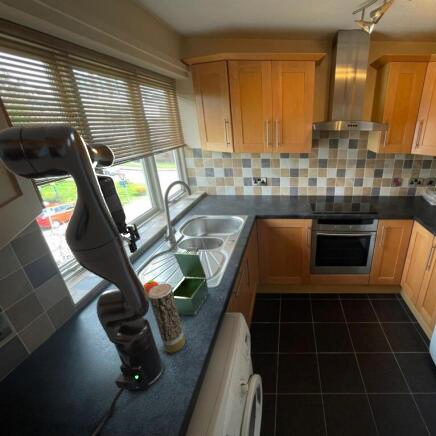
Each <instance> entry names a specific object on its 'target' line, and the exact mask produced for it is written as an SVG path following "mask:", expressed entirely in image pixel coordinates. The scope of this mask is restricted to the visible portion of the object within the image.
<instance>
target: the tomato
mask: <svg viewBox="0 0 436 436" xmlns="http://www.w3.org/2000/svg"><path fill="white" fill-rule="evenodd" d="M156 285H159V283H158V282H157V281H155V280H154V279H150V280H148V281H146V282H145V283H144V284H143V286H144V288H145V290H146V292H147V295H148V292H149V290H150V289H151V288H153V287H154V286H156Z"/></svg>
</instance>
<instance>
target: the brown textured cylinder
mask: <svg viewBox="0 0 436 436" xmlns="http://www.w3.org/2000/svg"><path fill="white" fill-rule="evenodd" d="M158 284H159V283H158ZM148 299H149V304H150V306H151V309H152V312H153V317H154V319H155V322H156V326H157V329H158V332H159V336H160V339H161V341H162V345H163V348H164V350H165V352H166V353H170V354H172V353H176V352H179V351H180V350H181V349H182V348H183V347H184V345H185V343H186V339H185V335H184V331H183V326H182V323H181V320H180V314H178V310H177V306H176V303H175V299H174V295H173V287H172V285H171V284H169V283H160V284H159V285H156V286H154V287H153V288H151V289H150V290H149V292H148Z"/></svg>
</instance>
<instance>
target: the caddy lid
mask: <svg viewBox="0 0 436 436" xmlns="http://www.w3.org/2000/svg"><path fill="white" fill-rule="evenodd" d="M199 251H200V250H199V247H189V246H188V247H185V251H184V252H174V253H173V255H174V257H175V260H176V262H177V264H178V267H179V270H180V272H181V273H182V276H183V278H184V277H193V278H206V279H207V275H206V272H205V270H204V269H205V268H204V267H203V264H202V261H201V258H200V255H199V253H198V252H199ZM190 252H193V253H190Z"/></svg>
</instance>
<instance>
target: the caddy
mask: <svg viewBox="0 0 436 436" xmlns="http://www.w3.org/2000/svg"><path fill="white" fill-rule="evenodd" d="M172 291H173V295H174V299H175V303H176V306H177V310H178V314H179V315H183V316H185V315H186V316H194V317H195V316H196V315H197V314H198V312H199V310H200V308H201V307H202V305H203V304H204V302H205V300H206V299H207V297H208V296H209V295H210V292H209V287H208V281H207V277H206V278H197V277H184V276H183V277H182V279H181V280H180V281H179V282H178V283H177V285H176V286H175V287H174V288H173V289H172ZM191 295H192V296H191ZM190 297H191V298H190Z"/></svg>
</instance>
